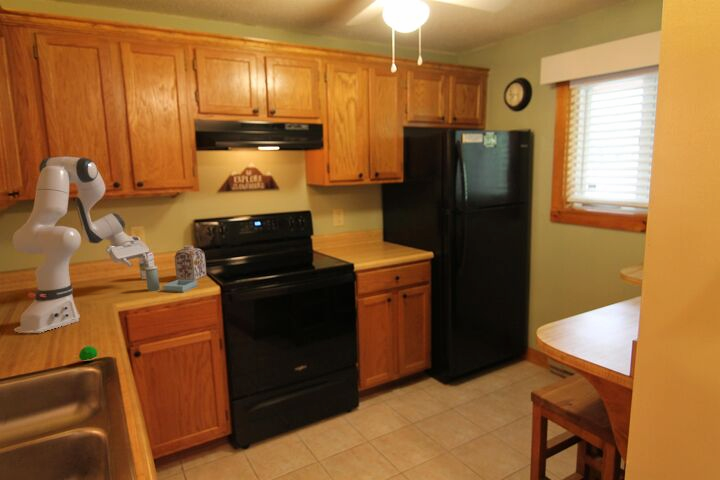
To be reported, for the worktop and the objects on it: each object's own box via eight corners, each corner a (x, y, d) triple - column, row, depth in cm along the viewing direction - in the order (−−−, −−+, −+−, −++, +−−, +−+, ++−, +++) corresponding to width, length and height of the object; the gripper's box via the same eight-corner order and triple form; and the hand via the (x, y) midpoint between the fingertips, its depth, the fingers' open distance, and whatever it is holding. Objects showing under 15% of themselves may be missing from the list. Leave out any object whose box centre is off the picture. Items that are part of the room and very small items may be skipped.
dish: (182, 292, 220) (182, 286, 219) (163, 291, 223) (162, 285, 222) (197, 286, 231) (197, 280, 230) (178, 285, 234) (178, 279, 233)
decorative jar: (176, 280, 245) (172, 247, 242) (188, 274, 256) (185, 243, 253) (195, 280, 242) (192, 248, 239) (207, 275, 253) (204, 244, 250)
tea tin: (154, 291, 223) (151, 268, 221) (144, 291, 225) (142, 268, 223) (162, 288, 229) (160, 266, 227) (153, 287, 230) (150, 265, 228)
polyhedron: (82, 359, 145) (80, 345, 144) (100, 356, 146) (98, 343, 145) (78, 365, 140) (76, 351, 139) (96, 363, 142) (94, 348, 141)
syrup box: (156, 277, 253) (153, 252, 250) (150, 280, 247) (147, 254, 245) (146, 277, 253) (143, 252, 251) (140, 280, 248) (137, 254, 245)
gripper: (106, 243, 219) (123, 264, 217) (141, 236, 238) (157, 255, 236) (101, 252, 222) (118, 272, 220) (136, 244, 240) (152, 263, 238)
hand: (138, 263), depth 228 cm, fingers open, 8 cm apart
